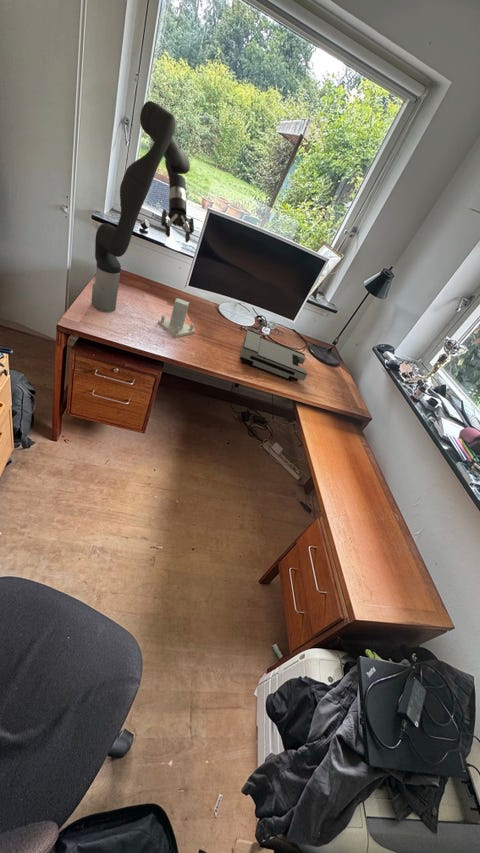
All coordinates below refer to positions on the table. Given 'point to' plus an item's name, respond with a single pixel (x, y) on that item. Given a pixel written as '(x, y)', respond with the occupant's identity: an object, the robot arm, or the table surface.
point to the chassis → (176, 330)
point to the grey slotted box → (272, 357)
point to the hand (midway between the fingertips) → (177, 238)
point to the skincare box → (179, 313)
